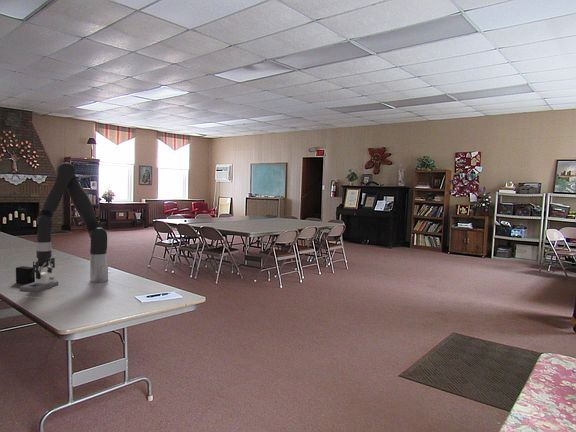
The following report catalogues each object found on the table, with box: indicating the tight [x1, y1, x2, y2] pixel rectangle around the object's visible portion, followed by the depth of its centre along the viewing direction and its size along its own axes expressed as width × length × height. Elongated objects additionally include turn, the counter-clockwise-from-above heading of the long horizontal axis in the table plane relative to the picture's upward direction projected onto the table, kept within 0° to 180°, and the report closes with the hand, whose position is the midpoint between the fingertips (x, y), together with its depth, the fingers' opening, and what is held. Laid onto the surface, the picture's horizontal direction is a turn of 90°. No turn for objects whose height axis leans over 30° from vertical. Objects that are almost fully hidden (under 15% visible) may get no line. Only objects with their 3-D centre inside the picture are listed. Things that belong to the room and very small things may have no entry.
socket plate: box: [19, 280, 59, 293], centre depth 234 cm, size 11×16×2 cm
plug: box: [35, 271, 55, 284], centre depth 237 cm, size 9×6×7 cm, turn 81°
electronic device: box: [15, 265, 36, 285], centre depth 241 cm, size 4×10×10 cm, turn 71°
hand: (44, 277), depth 237 cm, fingers open, 8 cm apart
